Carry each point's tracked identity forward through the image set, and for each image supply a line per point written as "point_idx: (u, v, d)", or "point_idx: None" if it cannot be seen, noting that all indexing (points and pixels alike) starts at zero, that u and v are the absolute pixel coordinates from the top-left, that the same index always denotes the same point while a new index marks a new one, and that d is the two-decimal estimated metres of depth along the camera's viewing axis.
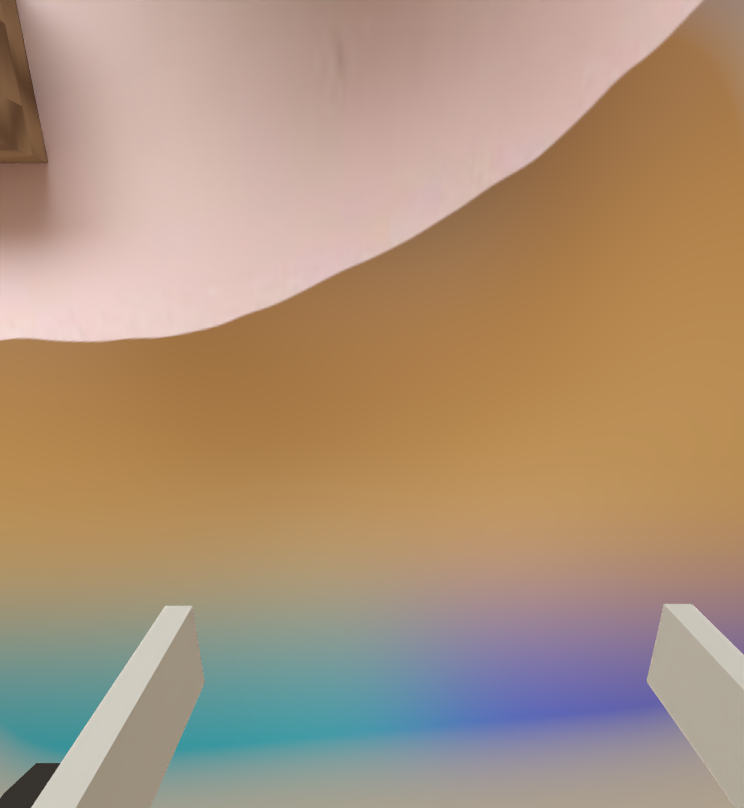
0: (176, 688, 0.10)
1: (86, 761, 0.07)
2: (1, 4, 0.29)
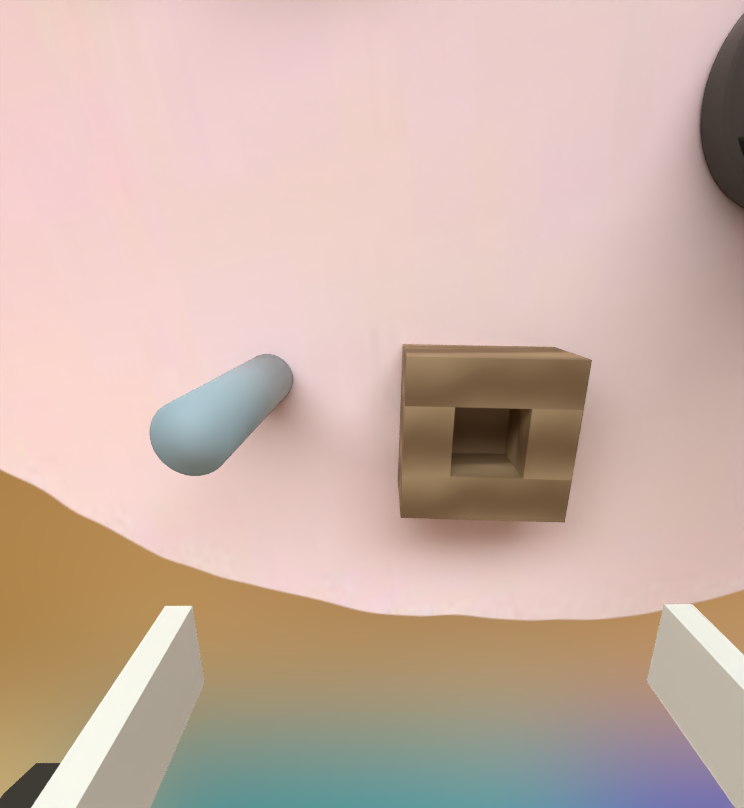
0: (176, 688, 0.10)
1: (86, 761, 0.07)
2: None
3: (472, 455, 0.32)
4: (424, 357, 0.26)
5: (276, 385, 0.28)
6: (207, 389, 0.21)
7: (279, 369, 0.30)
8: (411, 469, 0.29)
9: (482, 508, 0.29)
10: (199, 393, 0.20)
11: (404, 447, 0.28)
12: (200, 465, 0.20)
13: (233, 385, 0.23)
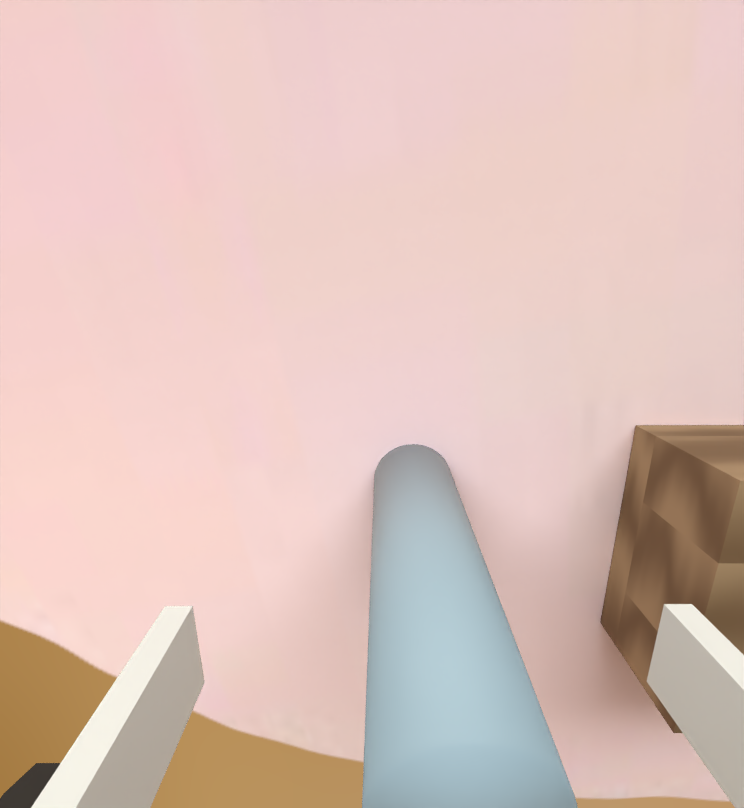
0: (176, 688, 0.10)
1: (86, 761, 0.07)
2: None
3: None
4: None
5: None
6: (461, 641, 0.09)
7: (451, 479, 0.18)
8: None
9: None
10: (467, 676, 0.08)
11: None
12: None
13: (476, 591, 0.11)
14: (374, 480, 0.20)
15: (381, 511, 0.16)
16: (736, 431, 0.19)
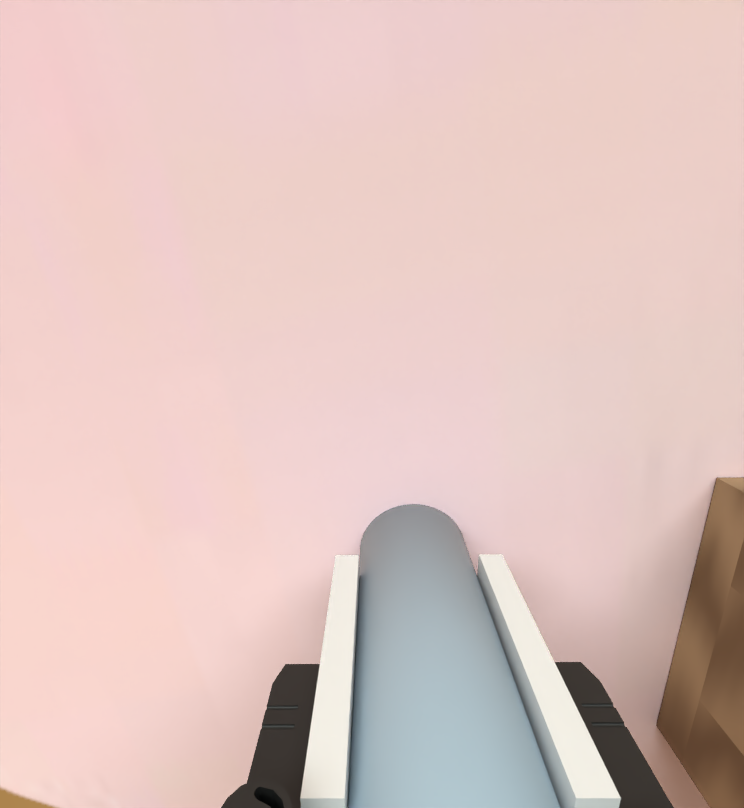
0: None
1: (340, 656, 0.09)
2: None
3: None
4: None
5: None
6: None
7: (469, 565, 0.13)
8: None
9: None
10: None
11: None
12: None
13: None
14: (360, 555, 0.15)
15: (367, 634, 0.10)
16: None
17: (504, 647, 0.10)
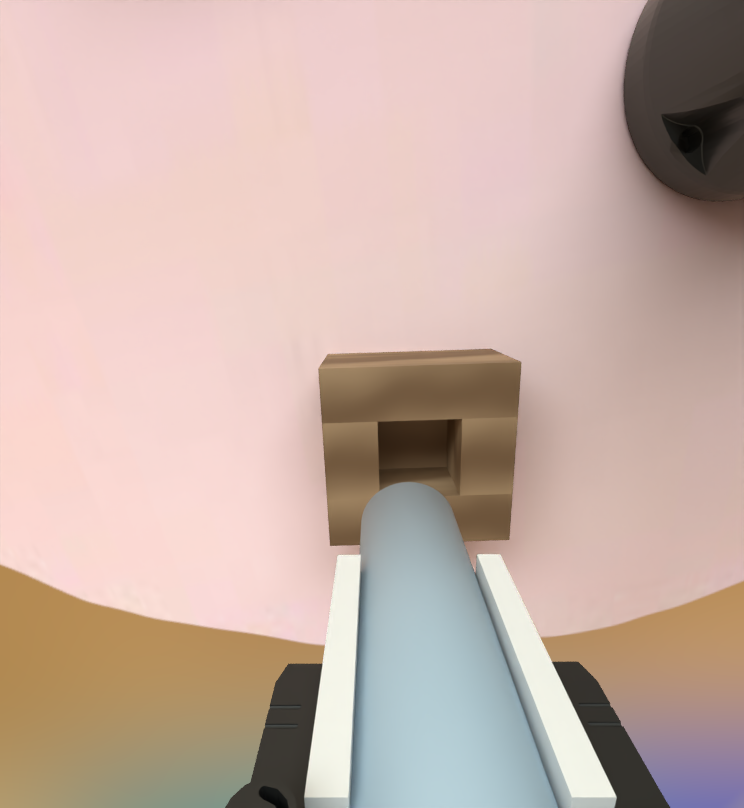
0: None
1: (343, 656, 0.09)
2: None
3: (410, 471, 0.30)
4: (338, 368, 0.24)
5: None
6: None
7: (456, 531, 0.14)
8: (336, 492, 0.26)
9: None
10: None
11: (326, 468, 0.25)
12: None
13: (508, 758, 0.07)
14: (361, 527, 0.16)
15: (367, 584, 0.12)
16: (384, 354, 0.29)
17: (501, 647, 0.10)
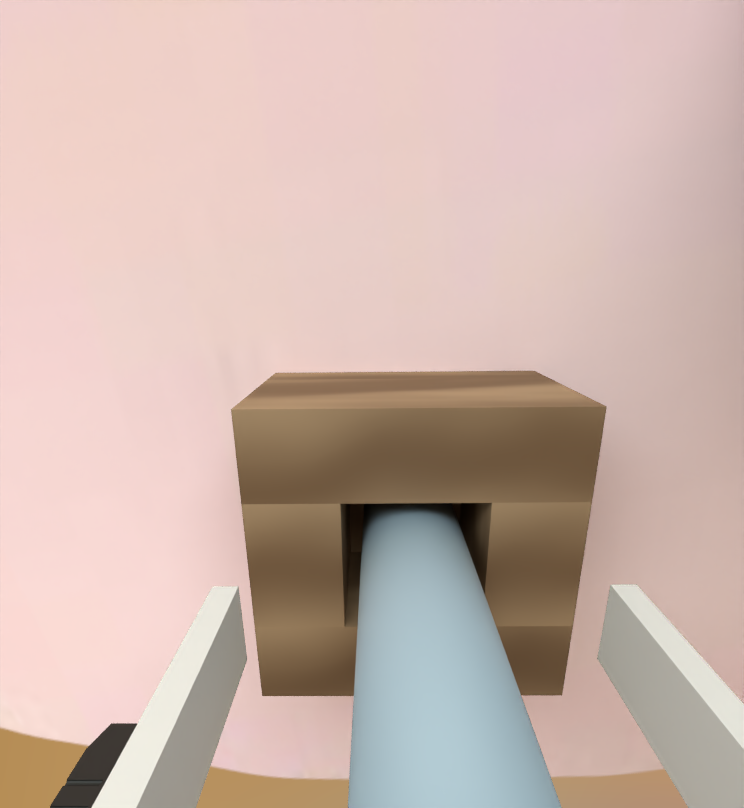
0: (227, 661, 0.11)
1: (162, 719, 0.08)
2: None
3: None
4: (267, 410, 0.13)
5: None
6: (470, 758, 0.07)
7: (450, 508, 0.16)
8: (270, 616, 0.15)
9: None
10: None
11: (251, 578, 0.15)
12: None
13: (486, 672, 0.09)
14: (364, 506, 0.18)
15: (370, 550, 0.14)
16: (364, 376, 0.18)
17: (676, 700, 0.09)
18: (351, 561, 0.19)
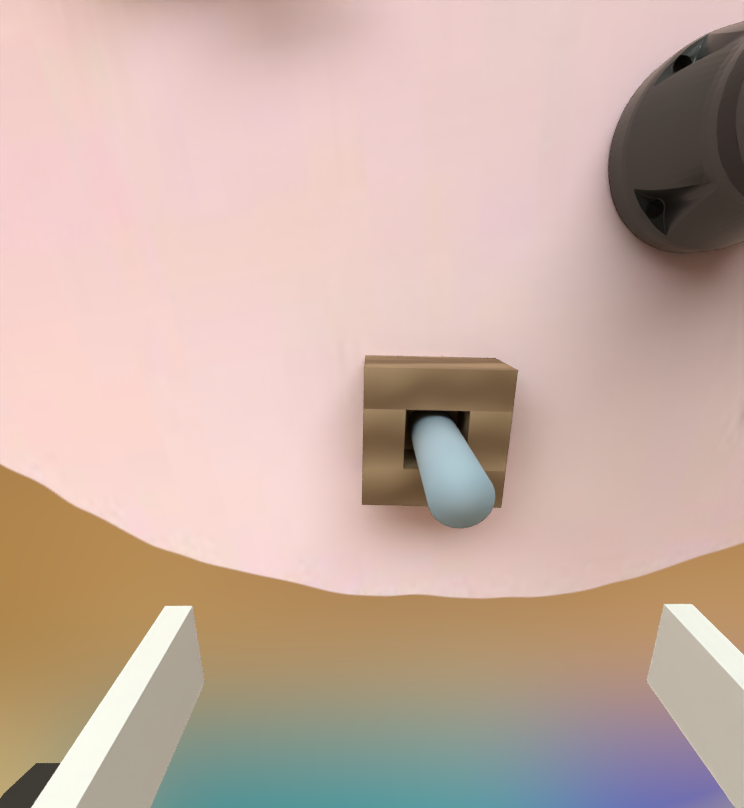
0: (176, 688, 0.10)
1: (86, 761, 0.07)
2: None
3: None
4: (379, 367, 0.31)
5: None
6: (459, 453, 0.25)
7: None
8: (370, 462, 0.33)
9: None
10: (461, 458, 0.24)
11: (363, 444, 0.33)
12: (465, 519, 0.24)
13: (464, 446, 0.27)
14: (409, 422, 0.36)
15: (418, 429, 0.32)
16: (411, 357, 0.36)
17: None
18: None
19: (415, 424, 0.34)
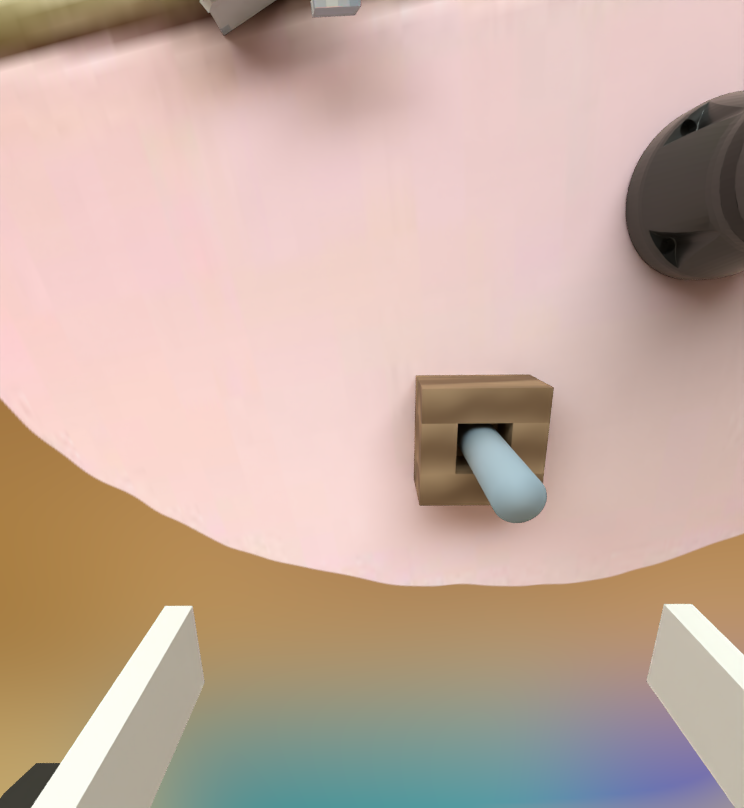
0: (176, 688, 0.10)
1: (86, 761, 0.07)
2: None
3: None
4: (435, 388, 0.37)
5: None
6: (514, 461, 0.31)
7: None
8: (427, 469, 0.39)
9: (479, 496, 0.40)
10: (517, 466, 0.30)
11: (421, 453, 0.38)
12: (522, 516, 0.30)
13: (515, 455, 0.32)
14: None
15: (469, 440, 0.38)
16: (456, 376, 0.42)
17: None
18: None
19: (464, 435, 0.39)
